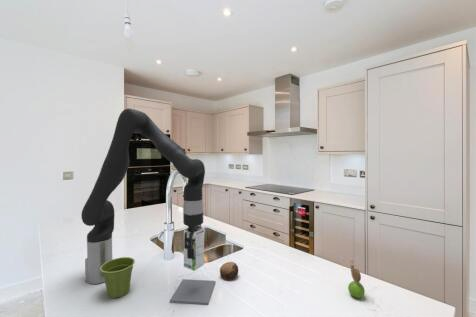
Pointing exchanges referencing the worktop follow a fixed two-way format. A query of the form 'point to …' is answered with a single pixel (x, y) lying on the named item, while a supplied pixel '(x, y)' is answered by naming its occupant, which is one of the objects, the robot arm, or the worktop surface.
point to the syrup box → (195, 251)
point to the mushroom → (229, 270)
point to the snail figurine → (356, 283)
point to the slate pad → (193, 292)
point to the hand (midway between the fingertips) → (193, 253)
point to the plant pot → (118, 276)
